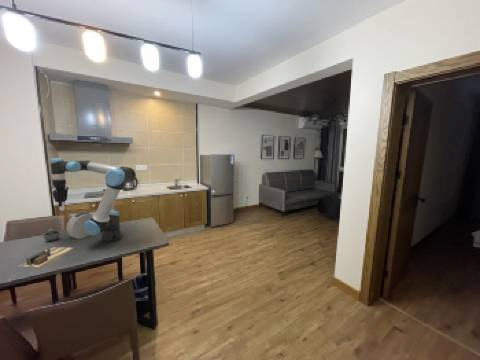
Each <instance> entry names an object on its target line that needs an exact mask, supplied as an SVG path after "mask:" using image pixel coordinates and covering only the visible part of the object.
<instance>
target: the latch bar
mask: <svg viewBox="0 0 480 360" xmlns="http://www.w3.org/2000/svg"><path fill="white" fill-rule="evenodd" d="M50 249H51V248H46V249H44V250H41V251H40V252H37V253H35V254H33V255H31V256H29V257H28V258H26V259H25V262H27V264H33V263H34V259H36V258H37V257H39V256H41V255H47V256H50V255H51V253H50Z"/></svg>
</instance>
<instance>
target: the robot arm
mask: <svg viewBox="0 0 480 360" xmlns="http://www.w3.org/2000/svg"><path fill="white" fill-rule="evenodd" d="M49 163H50V164H49V165H50V171H51V178H52V180H51V181H52V182H51V183H52V185H53V188H52V189H51V190H50V192H51V193H52V196H53V199H54V202H55V203H57V204H58V207H59V211H62V212H63V211H66V207H65V205H66V201H67V200H68V193H69V192H68V191H69V189H70V188H69V187H68V186H66V184H67V179H66V177H67V176H66V173H67V172H68V173H78V172H81V171H85V172H86V171H87V172H92V173H97V174H101V175H105V176H104V181H105V185H106V189H105V191H104V193H103V196H102V198H101V200H100V202H99V204H98V207H97V209H96V212H94V213H92V217H91V219H90V220H88V221H87V222H85V224H84V228H85V230H86V232H87V233H88V234H90V235H89V236H97V235H99V234H101V233H102V234H101V237H100V240H101V242H102V243H106V244H107V243H114V242H115V243H116V242H117V241H120V240H122V239H123V238H124V233H123V232H122V229H121V224H120V223H121V222H120V212H119V211H117V210H113V208H114V205H115V203H116V201H117V198H118V196H119V194H120V192H121V191H123V190H124V189H125V187H126V184H129V183H132V182H133V181H134V180H136V177H137V173H136V171H135V169H134V168H132V167H129V166H117V165H116V166H114V165H111V164H110V165H109V164H105V163H99V162H94V161H93V160H89V159H88V160H87V159H86V160H73V161H72V160H70V161H65V160H64V158H63V157H62V158H60V157H58V158H57V157H55V158H54V157H53V158H51V159H50V162H49Z"/></svg>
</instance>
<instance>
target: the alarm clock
mask: <svg viewBox="0 0 480 360" xmlns="http://www.w3.org/2000/svg"><path fill="white" fill-rule="evenodd" d="M92 215H93V213H90V212H87V211H84V212H79V213H77V214H74V215H73V216H71V218H70V219H69V221H68V222H67V224H66V227H65V228H66V234H67V235H68V236H69V237H70V238H72V239H76V240H81V239H84V238H87V237H89V236H91V235H90V234H88V233H87V232H86V230H85V228H84V224H85V222H87V221H88V220H90V219H91V217H92Z"/></svg>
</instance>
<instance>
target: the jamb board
mask: <svg viewBox="0 0 480 360" xmlns="http://www.w3.org/2000/svg"><path fill="white" fill-rule="evenodd" d="M49 249H50V253H51V255H50V256H47V255H41V256H39V257H37V258H36V259H34V263H33V264H27V262H26V261H24V262H22V263H20V264H18V267H21V268H23V267H24V268H25V267H27V268H28V267H29V268H44V267H46V266H47V265H50V264H51V263H53V262H54V261H56V260H57V259H59V258H61V257H63V256H65V255H66V254H68V253H69V252H71V251H73V250H75V249H76V247H60V246H59V247H58V246H57V247H52V248H49Z"/></svg>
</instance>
